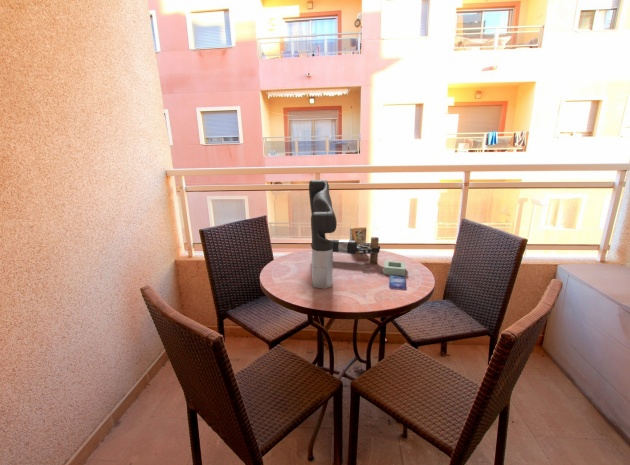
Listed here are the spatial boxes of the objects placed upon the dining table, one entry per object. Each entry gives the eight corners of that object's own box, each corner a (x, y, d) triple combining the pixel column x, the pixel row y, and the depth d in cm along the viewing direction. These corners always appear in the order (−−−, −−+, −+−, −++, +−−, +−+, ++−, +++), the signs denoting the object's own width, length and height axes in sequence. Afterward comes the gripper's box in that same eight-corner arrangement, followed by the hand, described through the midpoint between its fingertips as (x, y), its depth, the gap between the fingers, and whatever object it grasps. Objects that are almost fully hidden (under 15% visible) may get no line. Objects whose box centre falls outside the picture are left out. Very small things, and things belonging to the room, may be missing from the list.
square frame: (404, 276, 140) (405, 269, 140) (383, 273, 143) (383, 267, 142) (404, 268, 150) (405, 262, 149) (384, 266, 152) (384, 260, 152)
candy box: (363, 250, 179) (363, 226, 175) (365, 252, 175) (366, 227, 171) (349, 251, 177) (349, 227, 173) (351, 253, 173) (352, 228, 169)
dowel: (377, 264, 155) (378, 239, 152) (369, 263, 156) (370, 238, 153) (377, 262, 159) (378, 237, 155) (370, 261, 160) (371, 236, 157)
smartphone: (405, 275, 140) (406, 289, 126) (405, 277, 140) (406, 291, 126) (389, 274, 141) (389, 287, 127) (389, 275, 142) (388, 289, 128)
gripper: (345, 244, 152) (379, 246, 147) (349, 236, 165) (380, 238, 161) (345, 257, 154) (378, 260, 149) (349, 249, 167) (380, 251, 163)
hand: (379, 249), depth 155 cm, fingers closed on dowel, 4 cm apart
